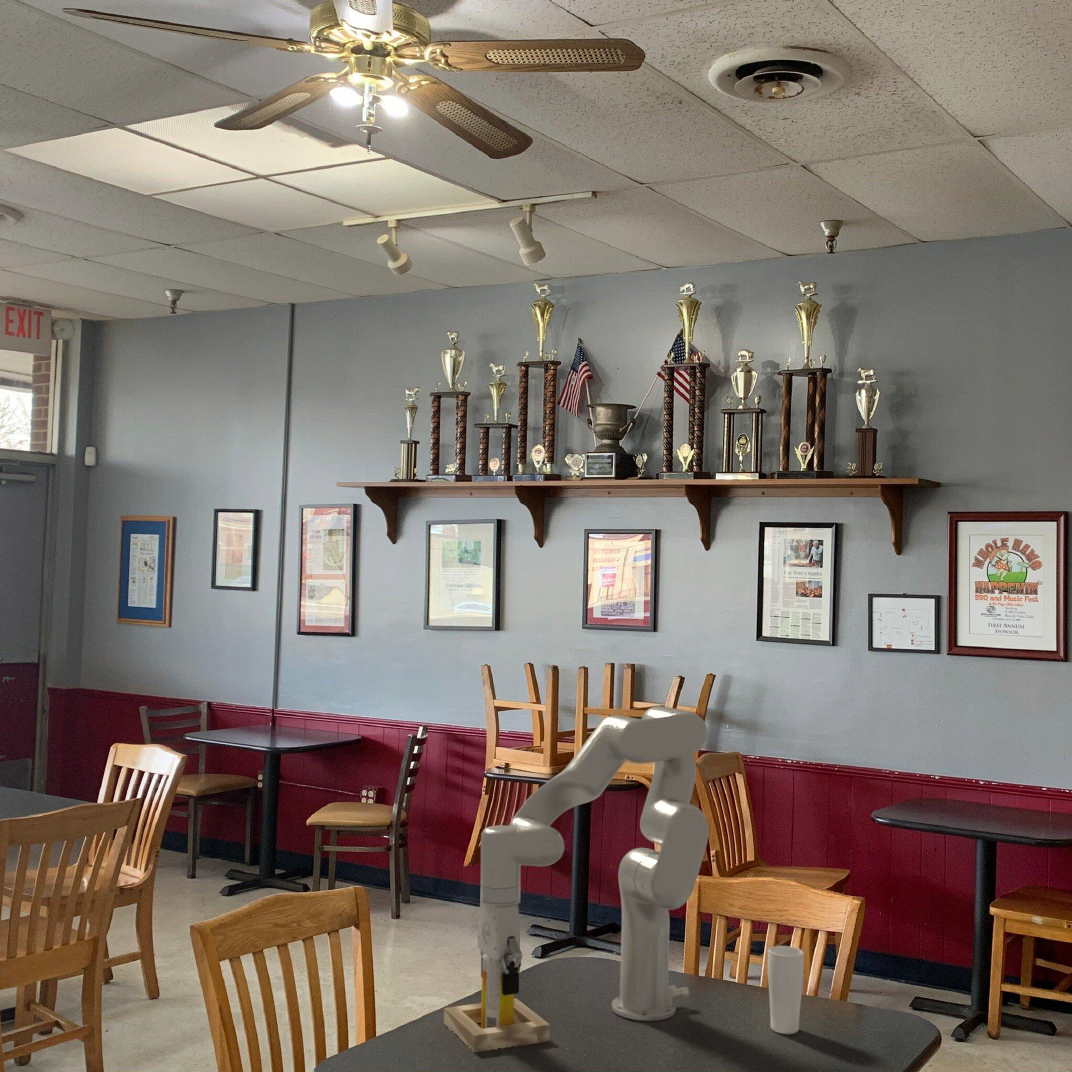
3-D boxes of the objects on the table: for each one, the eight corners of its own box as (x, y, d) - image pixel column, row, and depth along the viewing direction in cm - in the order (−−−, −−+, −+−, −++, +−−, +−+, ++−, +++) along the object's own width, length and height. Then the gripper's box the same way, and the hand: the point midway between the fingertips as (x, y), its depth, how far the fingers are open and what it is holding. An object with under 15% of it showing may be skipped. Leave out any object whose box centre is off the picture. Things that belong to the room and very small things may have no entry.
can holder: (515, 1013, 234) (516, 998, 234) (549, 1041, 220) (549, 1024, 220) (443, 1024, 227) (444, 1008, 227) (474, 1052, 214) (474, 1035, 214)
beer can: (516, 1028, 226) (518, 947, 227) (509, 1039, 220) (511, 957, 221) (485, 1025, 227) (487, 945, 228) (477, 1036, 222) (479, 954, 222)
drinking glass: (806, 1027, 231) (807, 948, 231) (798, 1039, 224) (799, 958, 225) (771, 1021, 233) (772, 943, 234) (762, 1032, 227) (764, 952, 228)
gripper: (464, 884, 231) (463, 974, 231) (500, 907, 216) (499, 1003, 215) (500, 880, 234) (499, 969, 234) (538, 902, 219) (537, 997, 218)
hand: (499, 985), depth 224 cm, fingers open, 9 cm apart
